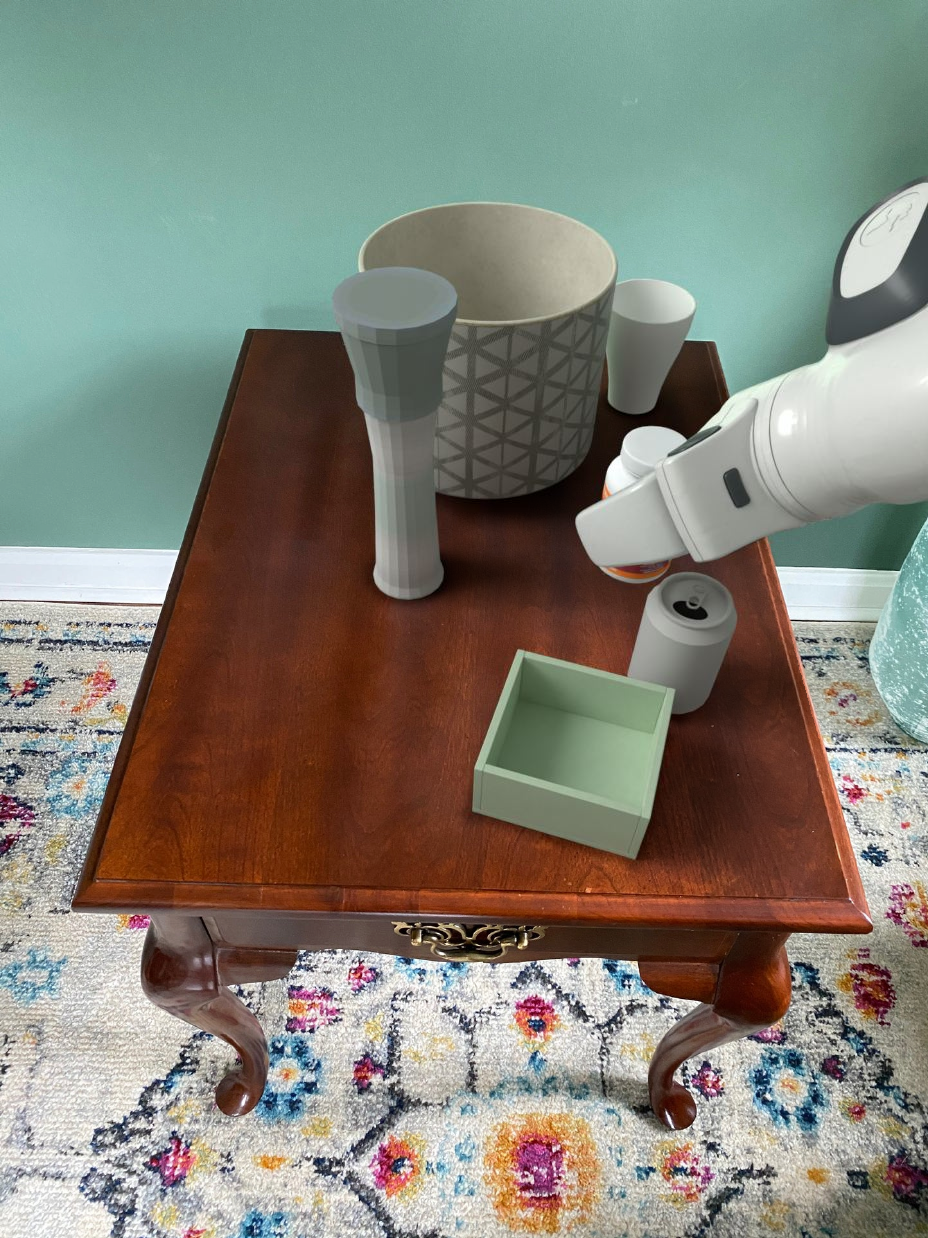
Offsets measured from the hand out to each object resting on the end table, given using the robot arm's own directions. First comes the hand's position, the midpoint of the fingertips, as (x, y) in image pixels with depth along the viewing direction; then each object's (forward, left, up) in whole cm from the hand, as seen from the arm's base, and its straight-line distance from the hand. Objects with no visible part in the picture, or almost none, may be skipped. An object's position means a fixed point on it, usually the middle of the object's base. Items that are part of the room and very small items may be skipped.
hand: (637, 496), depth 63 cm
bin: (0, +11, -21) cm, 24 cm away
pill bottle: (-1, 0, -6) cm, 6 cm away
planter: (+20, -27, -21) cm, 40 cm away
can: (-6, 0, -21) cm, 22 cm away
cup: (+5, -44, -21) cm, 49 cm away
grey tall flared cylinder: (+21, -6, -21) cm, 31 cm away
